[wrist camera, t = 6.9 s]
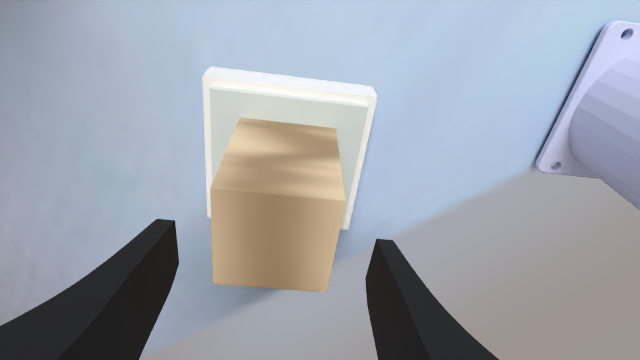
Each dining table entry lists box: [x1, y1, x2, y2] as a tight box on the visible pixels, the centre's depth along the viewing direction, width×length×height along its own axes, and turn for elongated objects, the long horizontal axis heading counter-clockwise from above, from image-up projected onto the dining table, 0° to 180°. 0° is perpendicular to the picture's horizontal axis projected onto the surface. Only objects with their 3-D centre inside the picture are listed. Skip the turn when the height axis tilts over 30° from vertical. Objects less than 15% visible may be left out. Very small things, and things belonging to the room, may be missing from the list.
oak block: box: [210, 118, 346, 292], centre depth 16 cm, size 4×4×6 cm
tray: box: [202, 66, 377, 230], centre depth 19 cm, size 8×8×2 cm
